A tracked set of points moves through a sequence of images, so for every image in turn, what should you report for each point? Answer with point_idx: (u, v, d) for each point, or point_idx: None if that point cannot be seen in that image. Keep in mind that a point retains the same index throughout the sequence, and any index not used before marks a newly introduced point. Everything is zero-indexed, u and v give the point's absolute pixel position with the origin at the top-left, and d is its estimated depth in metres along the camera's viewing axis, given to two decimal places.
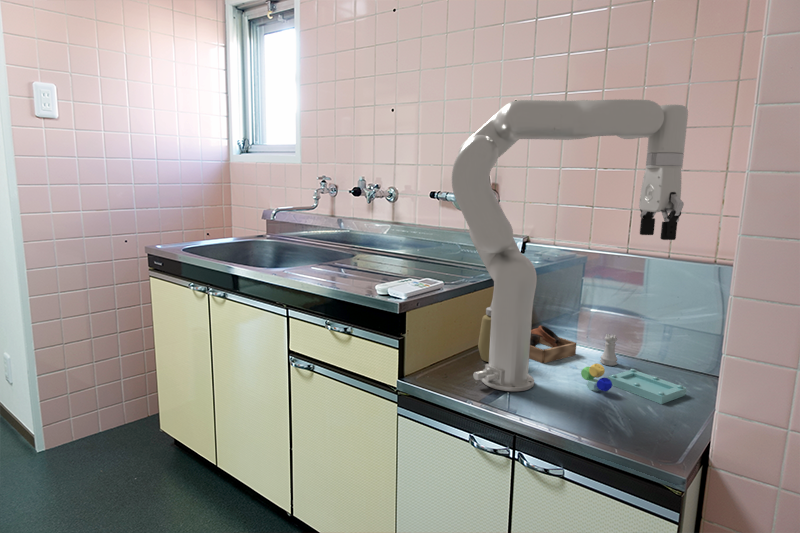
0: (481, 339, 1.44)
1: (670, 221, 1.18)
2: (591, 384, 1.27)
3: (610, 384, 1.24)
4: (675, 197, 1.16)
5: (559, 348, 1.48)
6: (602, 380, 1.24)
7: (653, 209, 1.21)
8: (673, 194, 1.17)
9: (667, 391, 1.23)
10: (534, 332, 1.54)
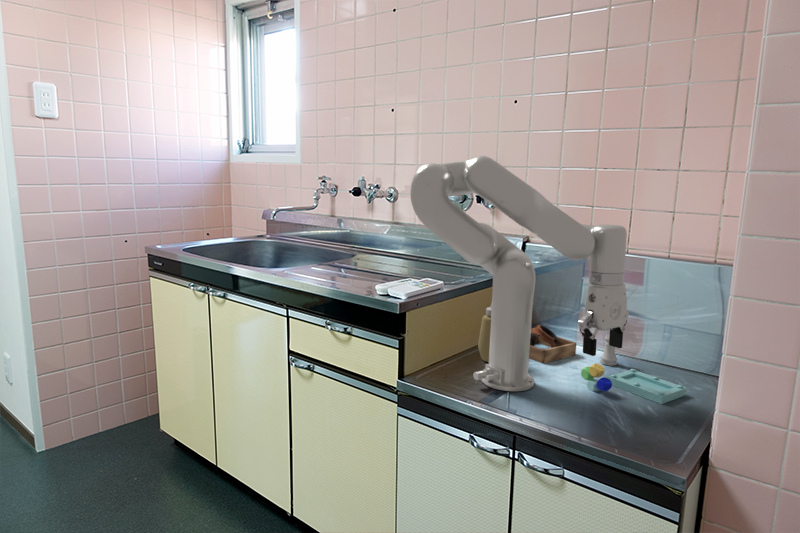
0: (481, 339, 1.44)
1: None
2: (591, 384, 1.27)
3: (610, 384, 1.24)
4: None
5: (559, 348, 1.48)
6: (602, 380, 1.24)
7: (621, 324, 1.24)
8: None
9: (667, 391, 1.23)
10: (533, 331, 1.54)
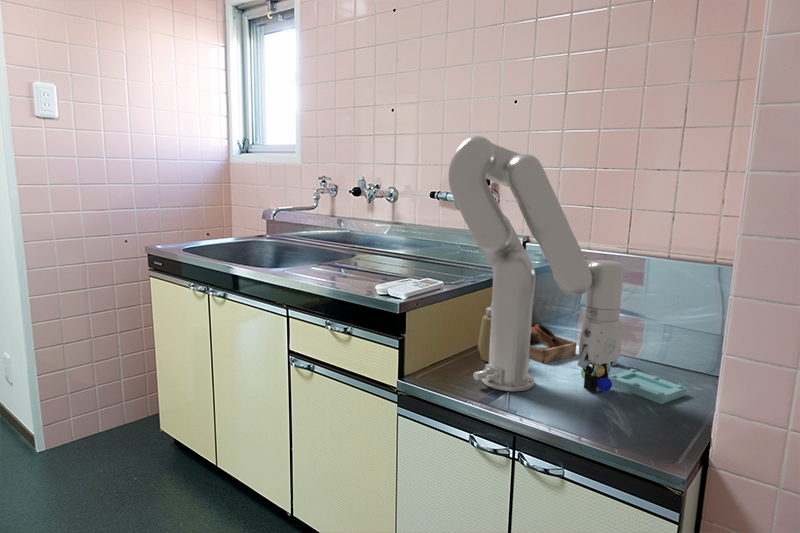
0: (481, 339, 1.44)
1: None
2: None
3: (610, 384, 1.24)
4: None
5: (559, 348, 1.48)
6: (602, 380, 1.24)
7: (615, 359, 1.26)
8: None
9: (667, 391, 1.23)
10: (531, 331, 1.55)
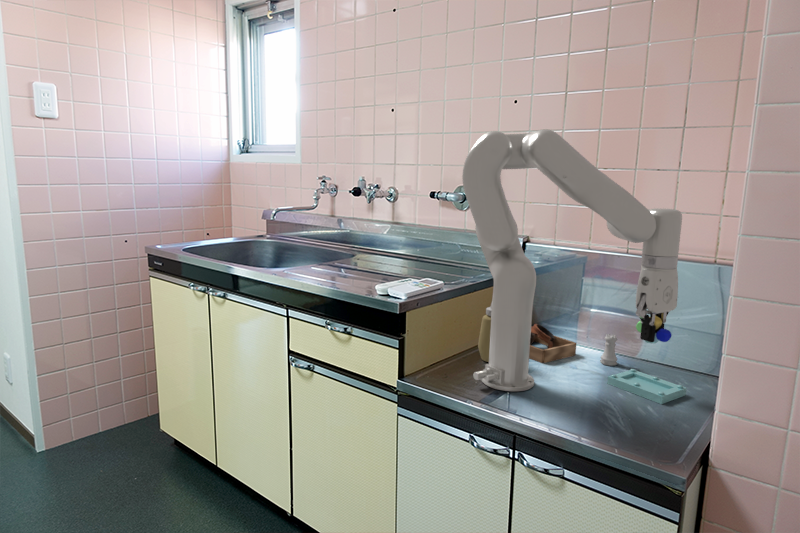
0: (481, 339, 1.44)
1: None
2: None
3: (670, 334, 1.23)
4: None
5: (559, 348, 1.48)
6: (662, 331, 1.23)
7: (672, 308, 1.25)
8: None
9: (667, 391, 1.23)
10: None
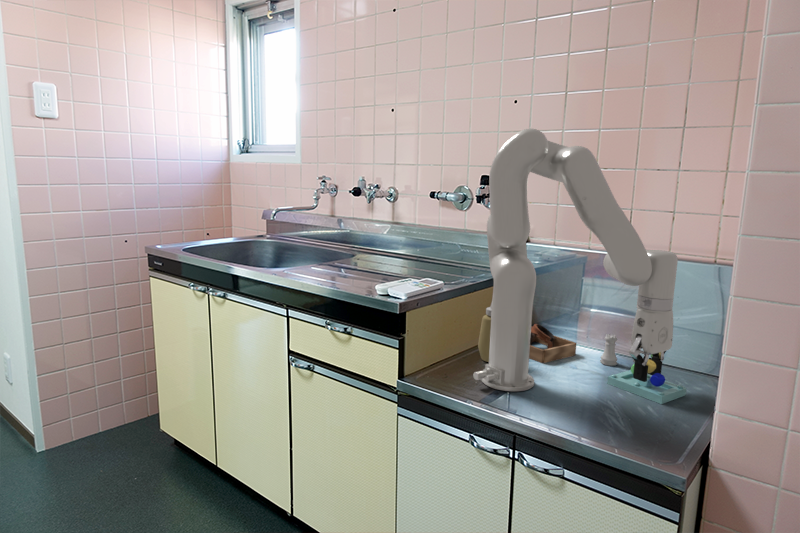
0: (481, 339, 1.44)
1: None
2: None
3: (664, 379, 1.25)
4: None
5: (559, 348, 1.48)
6: (656, 376, 1.25)
7: (667, 348, 1.26)
8: None
9: (667, 391, 1.23)
10: None
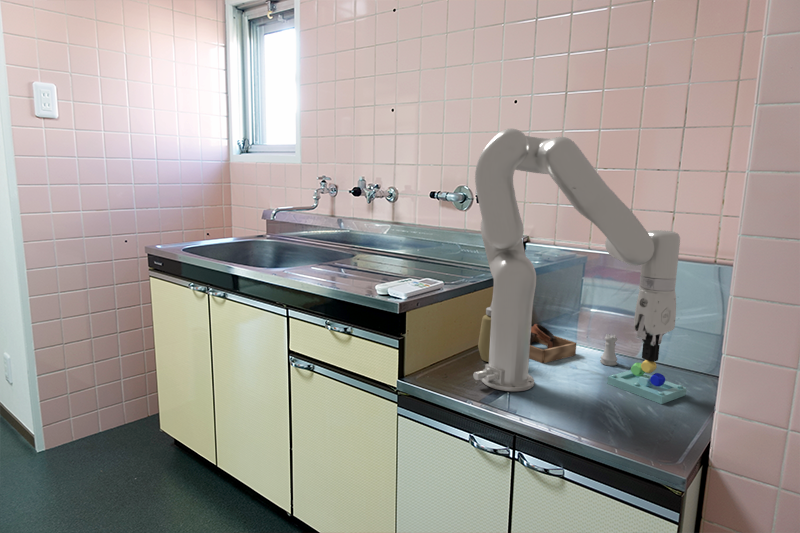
0: (481, 339, 1.44)
1: None
2: (643, 380, 1.27)
3: (664, 379, 1.25)
4: None
5: (559, 348, 1.48)
6: (656, 375, 1.25)
7: (670, 329, 1.25)
8: None
9: (667, 391, 1.23)
10: None
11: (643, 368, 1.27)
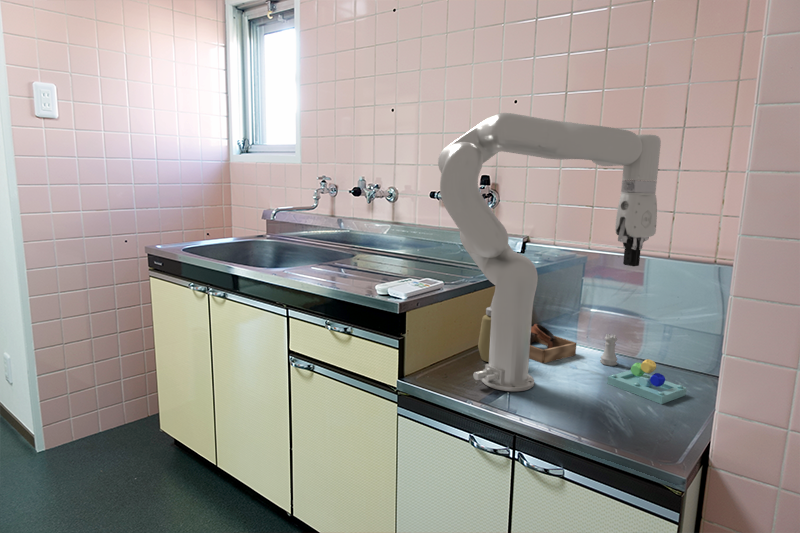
0: (481, 339, 1.44)
1: None
2: (643, 380, 1.27)
3: (664, 379, 1.25)
4: None
5: (559, 348, 1.48)
6: (656, 376, 1.25)
7: (651, 234, 1.28)
8: None
9: (667, 391, 1.23)
10: None
11: (643, 368, 1.27)
